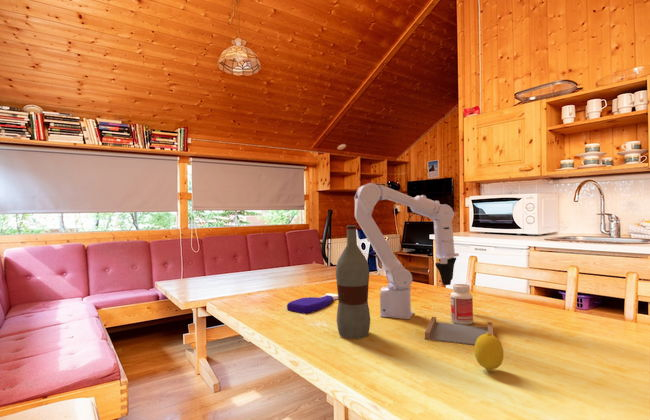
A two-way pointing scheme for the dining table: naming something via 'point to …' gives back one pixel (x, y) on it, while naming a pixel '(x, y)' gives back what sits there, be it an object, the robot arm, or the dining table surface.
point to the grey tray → (455, 332)
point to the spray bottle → (311, 303)
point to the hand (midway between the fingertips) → (448, 282)
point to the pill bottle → (461, 305)
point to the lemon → (488, 351)
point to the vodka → (352, 290)
